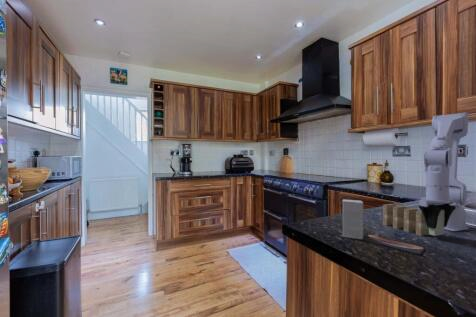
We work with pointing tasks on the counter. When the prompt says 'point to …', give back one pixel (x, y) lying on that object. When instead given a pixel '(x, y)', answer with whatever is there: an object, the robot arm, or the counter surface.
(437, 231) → the domino
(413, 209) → the domino
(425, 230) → the domino
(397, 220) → the domino
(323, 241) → the counter surface
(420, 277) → the counter surface
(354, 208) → the skincare box
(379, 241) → the brown flat slab
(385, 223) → the domino
